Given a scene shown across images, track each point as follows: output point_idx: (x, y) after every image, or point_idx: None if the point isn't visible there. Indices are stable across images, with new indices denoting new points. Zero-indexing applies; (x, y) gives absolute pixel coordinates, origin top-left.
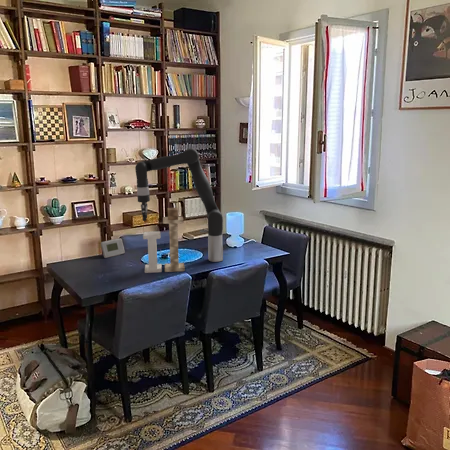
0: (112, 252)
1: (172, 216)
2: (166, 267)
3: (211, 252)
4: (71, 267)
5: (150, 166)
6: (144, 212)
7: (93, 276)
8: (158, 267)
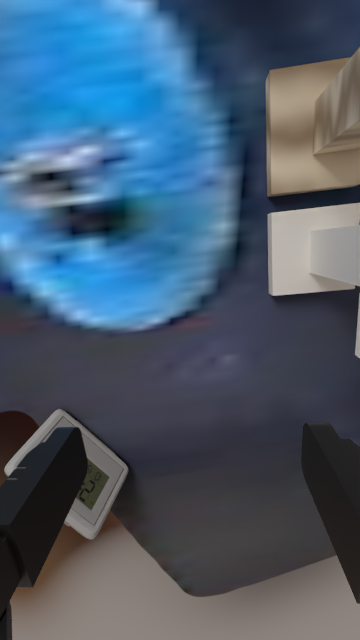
0: (98, 457)
1: None
2: (340, 176)
3: None
4: (233, 546)
5: None
6: (16, 572)
7: None
8: (332, 222)
